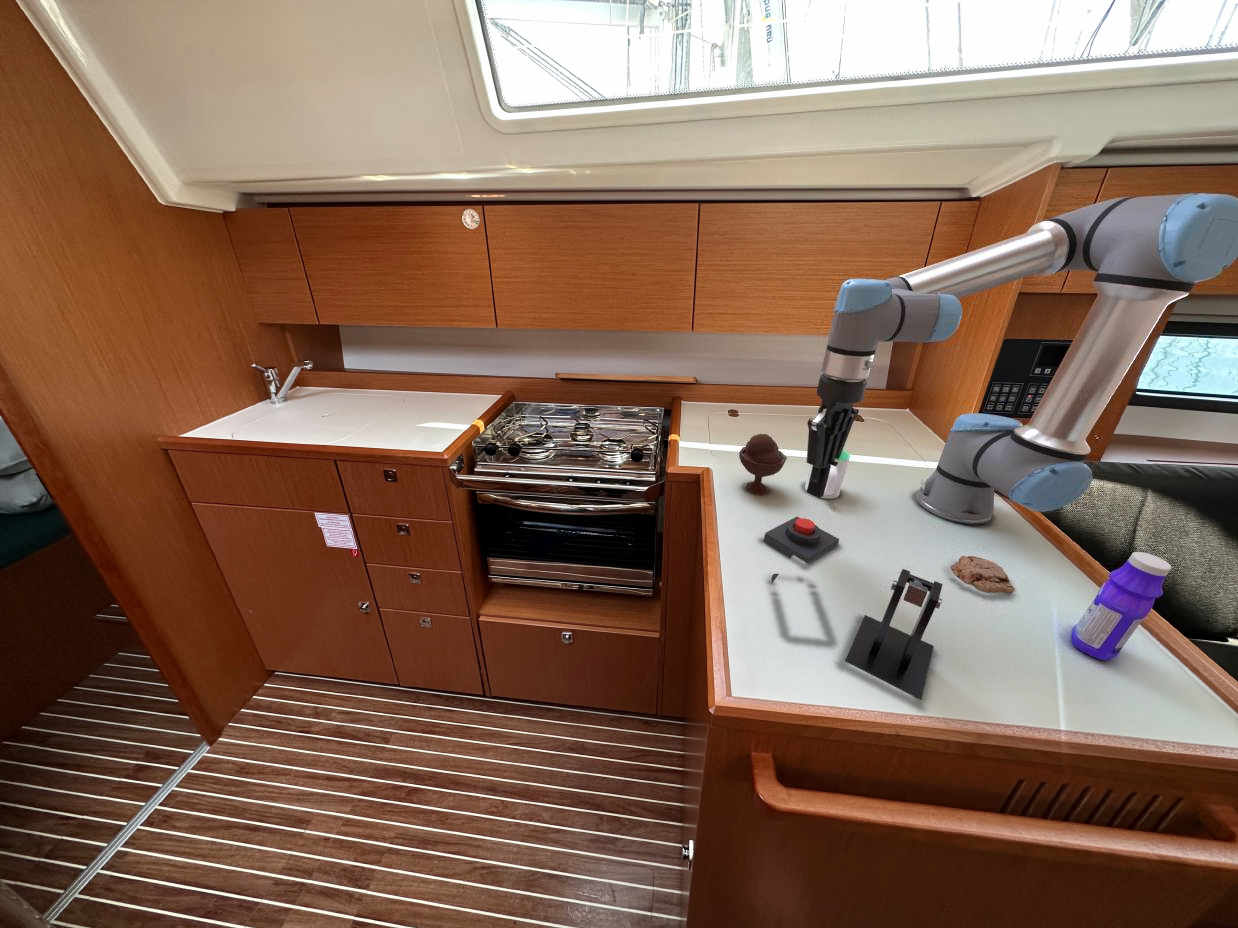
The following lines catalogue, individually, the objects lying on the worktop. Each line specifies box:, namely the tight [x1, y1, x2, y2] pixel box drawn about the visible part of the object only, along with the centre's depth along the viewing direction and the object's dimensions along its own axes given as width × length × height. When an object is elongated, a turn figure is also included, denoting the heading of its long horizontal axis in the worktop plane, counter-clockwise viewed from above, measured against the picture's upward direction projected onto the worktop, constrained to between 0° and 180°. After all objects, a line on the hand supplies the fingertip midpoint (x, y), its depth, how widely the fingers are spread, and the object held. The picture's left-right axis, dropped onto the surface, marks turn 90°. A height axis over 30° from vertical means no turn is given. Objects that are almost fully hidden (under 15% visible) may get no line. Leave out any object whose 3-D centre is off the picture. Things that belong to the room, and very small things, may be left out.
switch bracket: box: [844, 568, 943, 701], centre depth 68 cm, size 12×10×15 cm
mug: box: [804, 449, 851, 500], centre depth 113 cm, size 12×8×10 cm
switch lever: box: [898, 570, 934, 608], centre depth 70 cm, size 12×5×2 cm, turn 142°
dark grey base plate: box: [763, 516, 840, 563], centre depth 96 cm, size 11×10×4 cm
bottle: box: [1070, 551, 1172, 661], centre depth 71 cm, size 7×6×17 cm
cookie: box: [950, 555, 1016, 594], centre depth 88 cm, size 10×11×3 cm
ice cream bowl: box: [738, 433, 788, 495], centre depth 113 cm, size 11×11×15 cm
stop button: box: [794, 517, 816, 535], centre depth 95 cm, size 4×4×2 cm
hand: (814, 493), depth 91 cm, fingers closed
